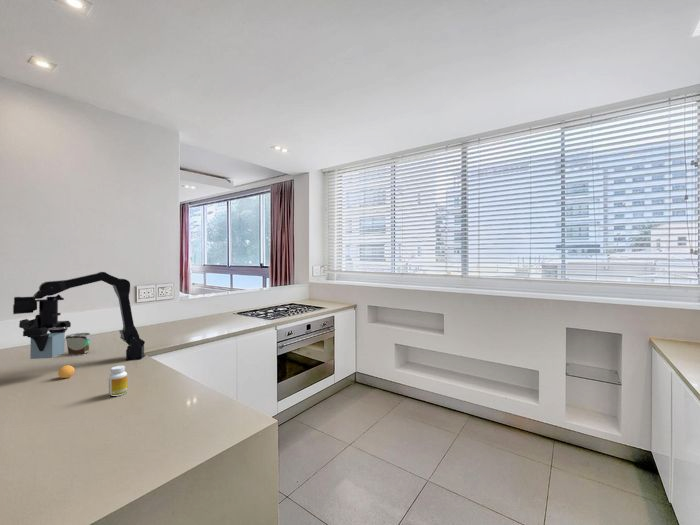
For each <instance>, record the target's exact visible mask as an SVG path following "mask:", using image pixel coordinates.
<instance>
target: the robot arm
mask: <svg viewBox="0 0 700 525" xmlns="http://www.w3.org/2000/svg"><path fill="white" fill-rule="evenodd" d="M97 282H104V283H106V284H108V285H110V286H112V288H113V291H114V293H115V295H116V297H117V299H118V303H119V304H118V305H119V309H120V314H121V321H122V329H120V330H119V331H118V332H119V334H120V337H119V339H121V340H122V341H123V342H125V343H126V344H127V345H128V346H126V350H125V360H126V361H130V360H131V361H132V360H133V361H134V359H135V360H142V359H143V358H144V357H146V354H145V340H143V339H141V338H140V335H139V333H138V330H137V329H136V326H135V325H134V319H133V313H132V307H131V306H132V305H131V303H130V294H131V283H130V281H129V280H128V279H125V278H119V277H116V276H114V275H111V274H109V273H107V272H105V271H100V272H99V271H98V272H95V273H91V274H86V275H84V276H78V277H74V278H69V279H63V280H62V279H61V280H52V281H51V280H49V281H44V282H42V283H40V285H39V287H38V290H37V291H36V292H35V293H34V294H33V295H32V296H14V297H13V304H12V306H13V307H12V314H13V315H19V314H21V315H22V314H33V313H34V311H37V310H38V314H36V315H35V316H34V317H35V318H33V319H28V318H25V319H21V320H19V325H18V327H19V328H20V329H23V331H22V336H23V337H26V338H30V339H31V338H32V339H33V340H34V341H35V343H36V345H37V347H38V349H39V351H43V350H44V348H45V345H46V342H47V339H48V336H49V334H47V333H65V334H66V332H67V330H68V328H71V327H72V326H71V325H72V324H71V321H69V320H59V316H61V312H59V301H64V300H65V298H64V297H62V295H60V294H59V293H62V292H65V291H66V290H70V289H72V288H76V287H81V286H84V285H88V284H89V285H90V284H93V283H97ZM54 295H56V296H54ZM45 297H46V298H45ZM43 298H44V299H43ZM38 305H39V306H38Z"/></svg>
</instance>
